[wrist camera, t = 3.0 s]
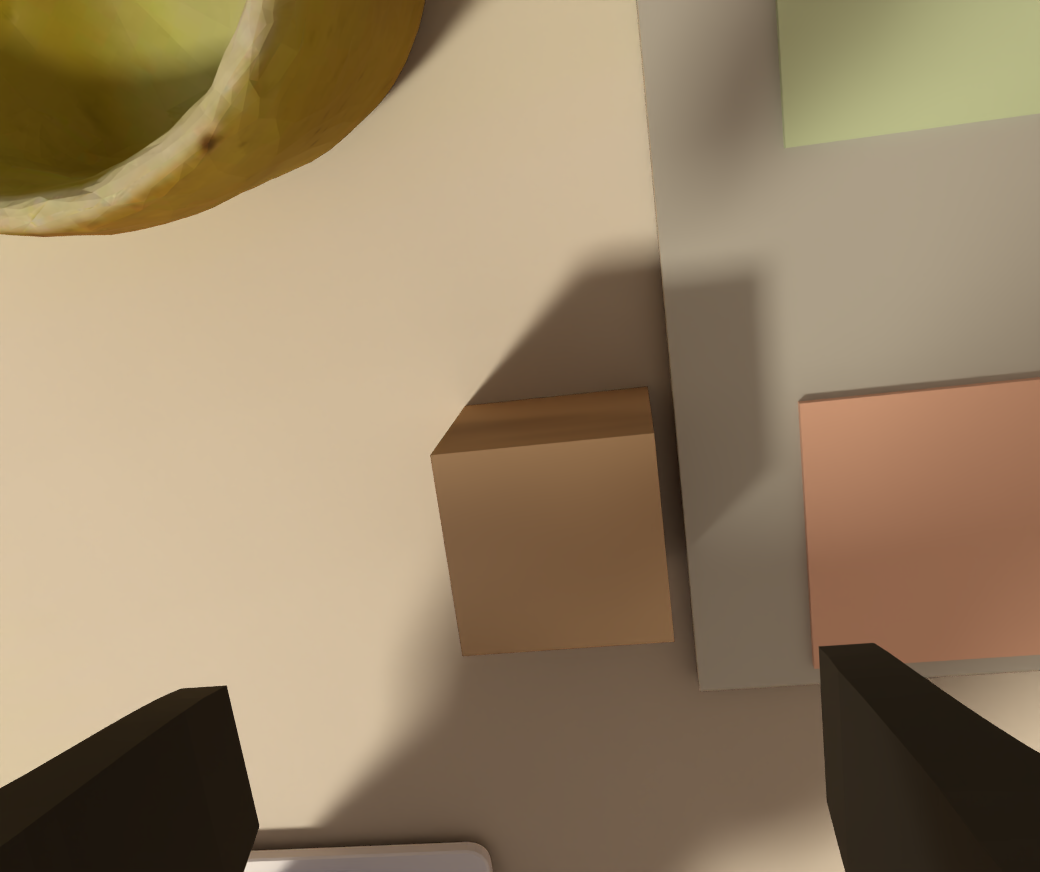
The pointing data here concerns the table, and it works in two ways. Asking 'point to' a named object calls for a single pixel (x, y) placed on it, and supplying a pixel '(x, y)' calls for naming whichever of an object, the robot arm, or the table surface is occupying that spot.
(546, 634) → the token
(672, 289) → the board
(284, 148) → the mug
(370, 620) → the table surface
